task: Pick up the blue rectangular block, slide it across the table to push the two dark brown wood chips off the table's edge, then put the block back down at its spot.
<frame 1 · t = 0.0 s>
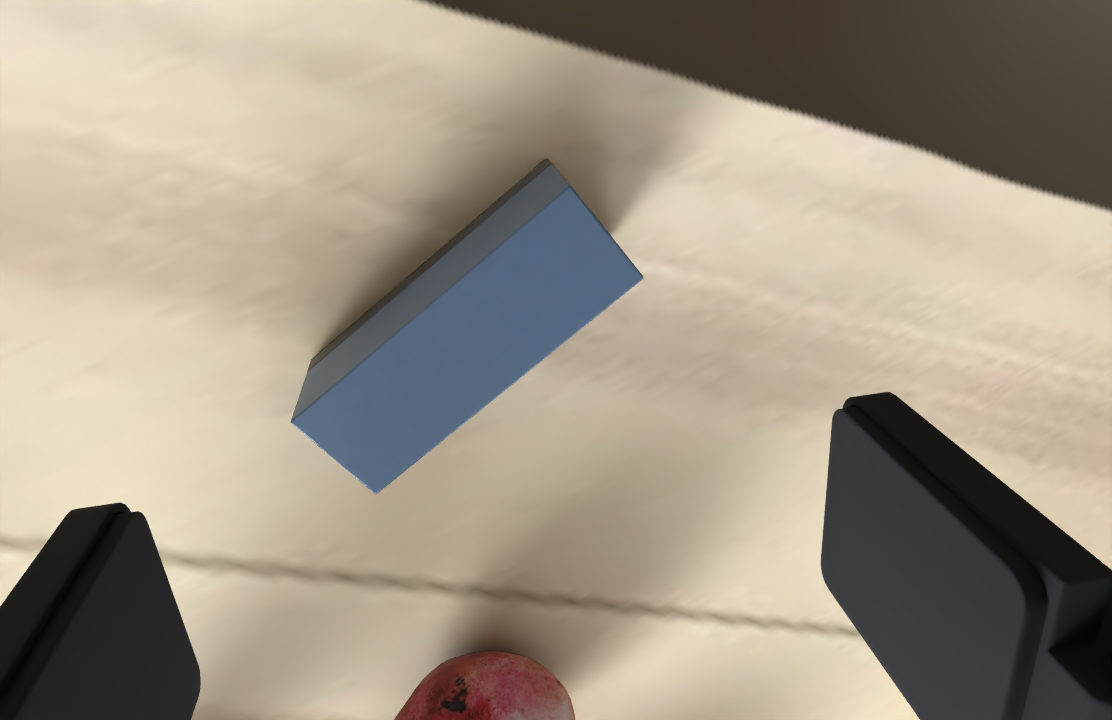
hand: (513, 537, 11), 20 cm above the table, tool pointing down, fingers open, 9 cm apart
blue rectangular block: (460, 298, 30), on the table
fruit: (478, 688, 39), on the table
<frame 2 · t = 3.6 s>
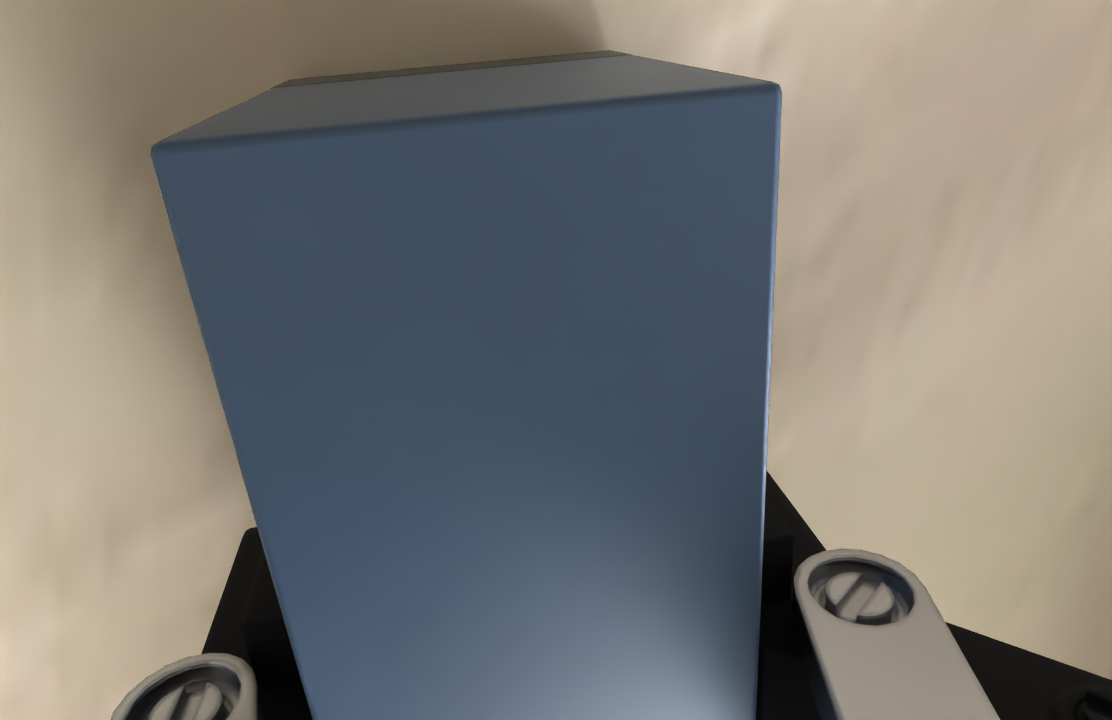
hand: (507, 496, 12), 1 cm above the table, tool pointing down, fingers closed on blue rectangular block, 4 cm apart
blue rectangular block: (504, 478, 12), on the table, touching gripper
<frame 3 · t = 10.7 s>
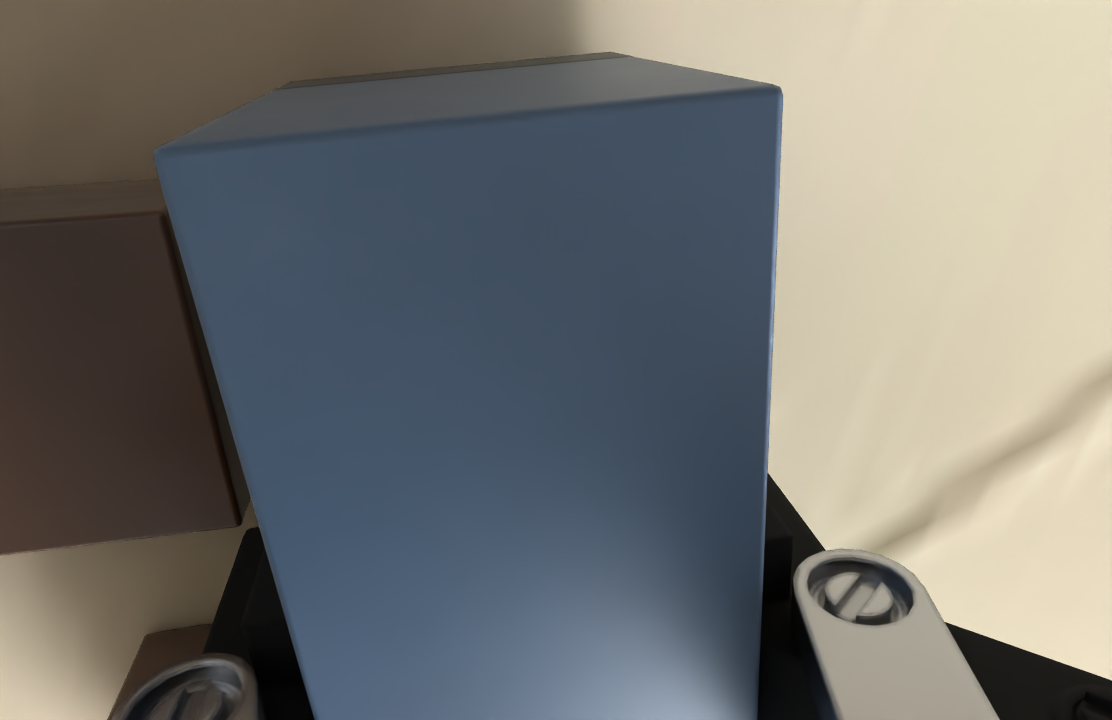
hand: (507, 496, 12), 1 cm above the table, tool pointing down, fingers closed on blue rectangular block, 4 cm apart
chip a: (88, 335, 10), on the table, touching gripper
chip b: (298, 701, 13), on the table
blue rectangular block: (505, 479, 12), on the table, touching gripper
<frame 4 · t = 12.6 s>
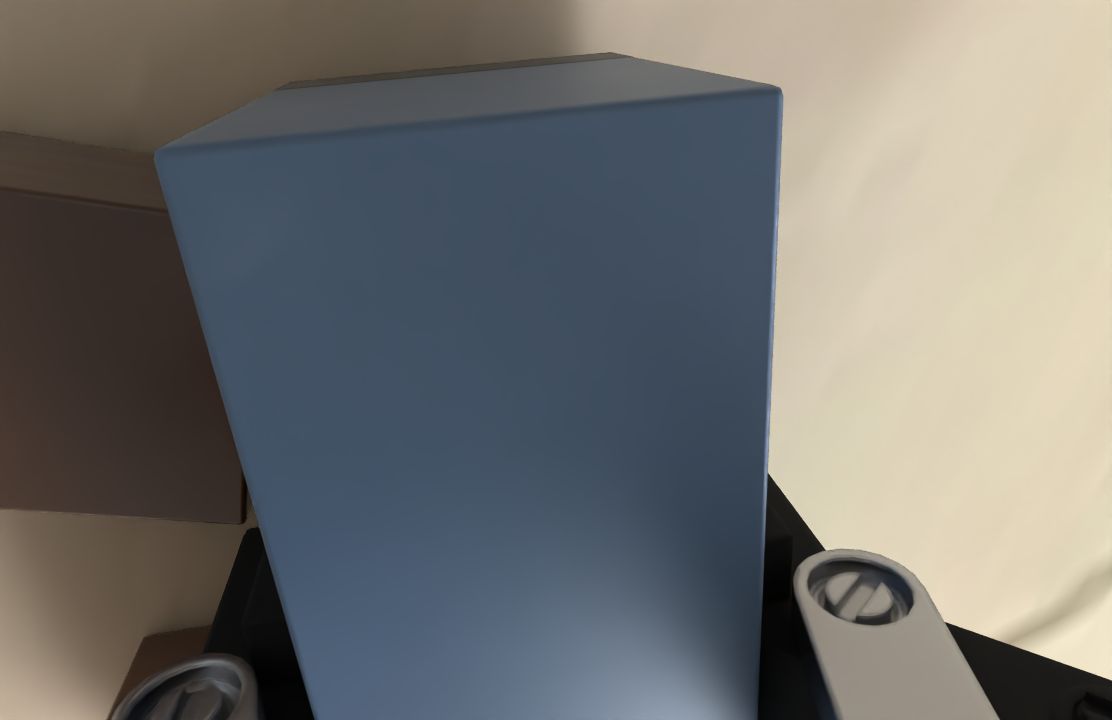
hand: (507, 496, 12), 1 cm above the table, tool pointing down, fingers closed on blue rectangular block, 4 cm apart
chip a: (120, 298, 10), on the table, touching gripper
chip b: (296, 702, 14), on the table
blue rectangular block: (505, 479, 12), on the table, touching gripper
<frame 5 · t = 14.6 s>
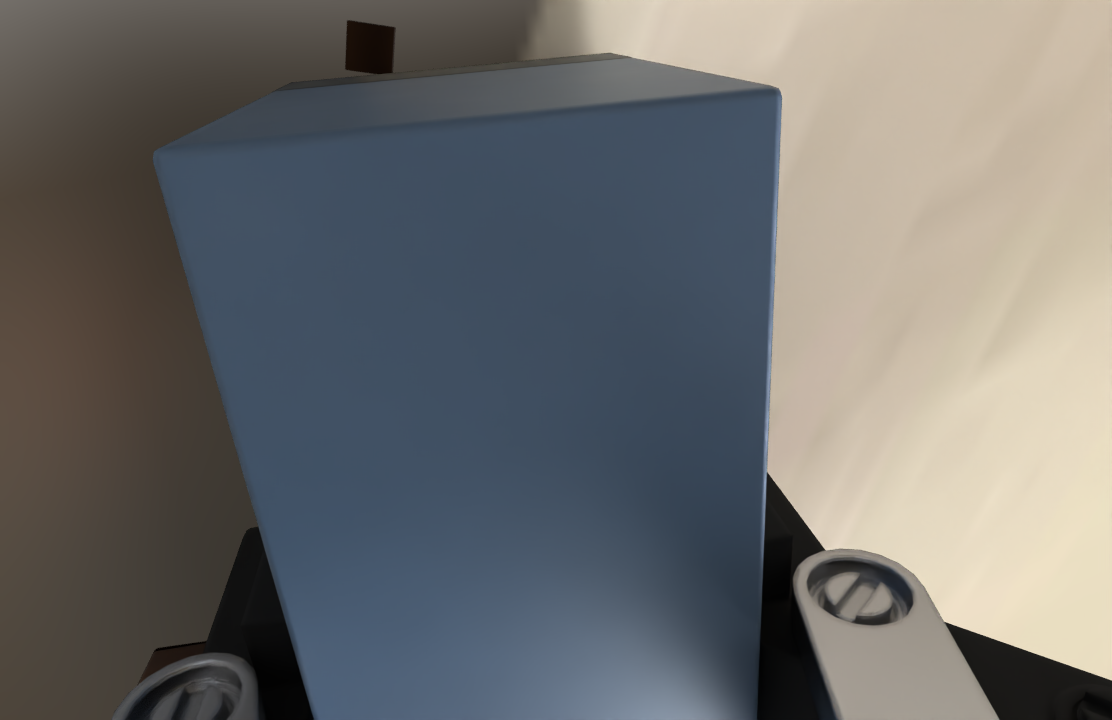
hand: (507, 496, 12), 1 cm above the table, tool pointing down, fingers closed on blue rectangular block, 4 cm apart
chip a: (371, 47, 69), on the floor
chip b: (304, 717, 14), on the table, touching blue rectangular block
blue rectangular block: (505, 479, 12), on the table, touching chip b, gripper
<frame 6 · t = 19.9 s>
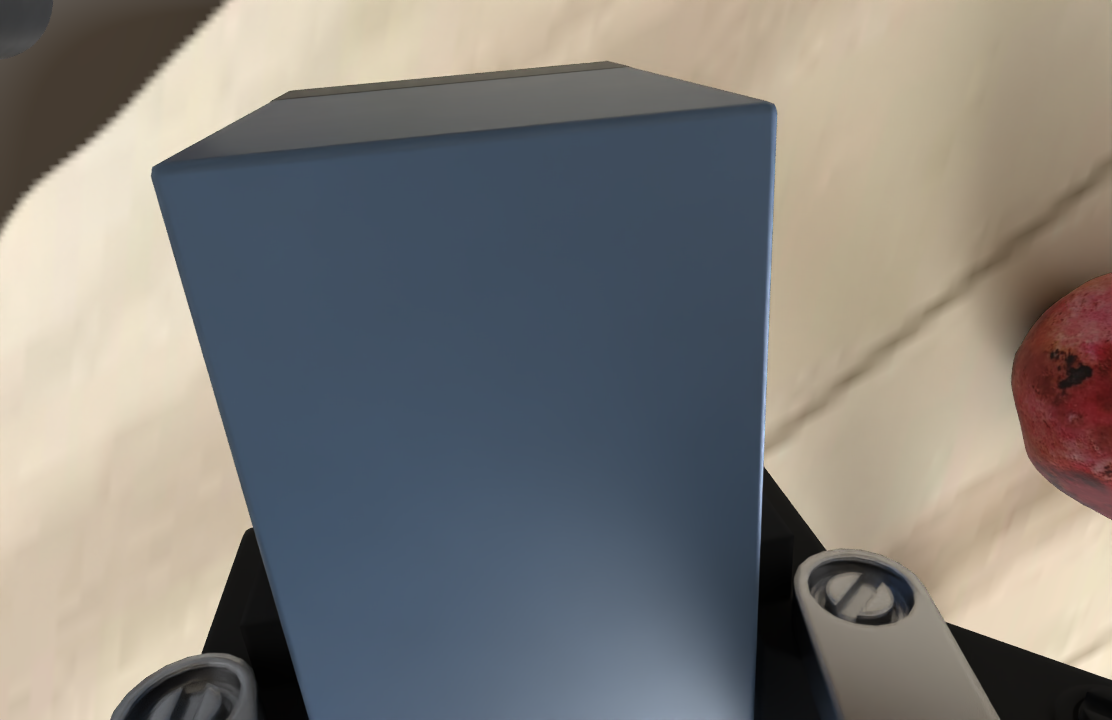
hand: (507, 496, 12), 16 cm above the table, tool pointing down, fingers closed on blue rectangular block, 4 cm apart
blue rectangular block: (503, 485, 12), point 15 cm above the table, touching gripper
fruit: (1068, 352, 32), on the table
when the fingers open (0 cm above the table, at t = 24.4 s): blue rectangular block stays where it is, on the table.
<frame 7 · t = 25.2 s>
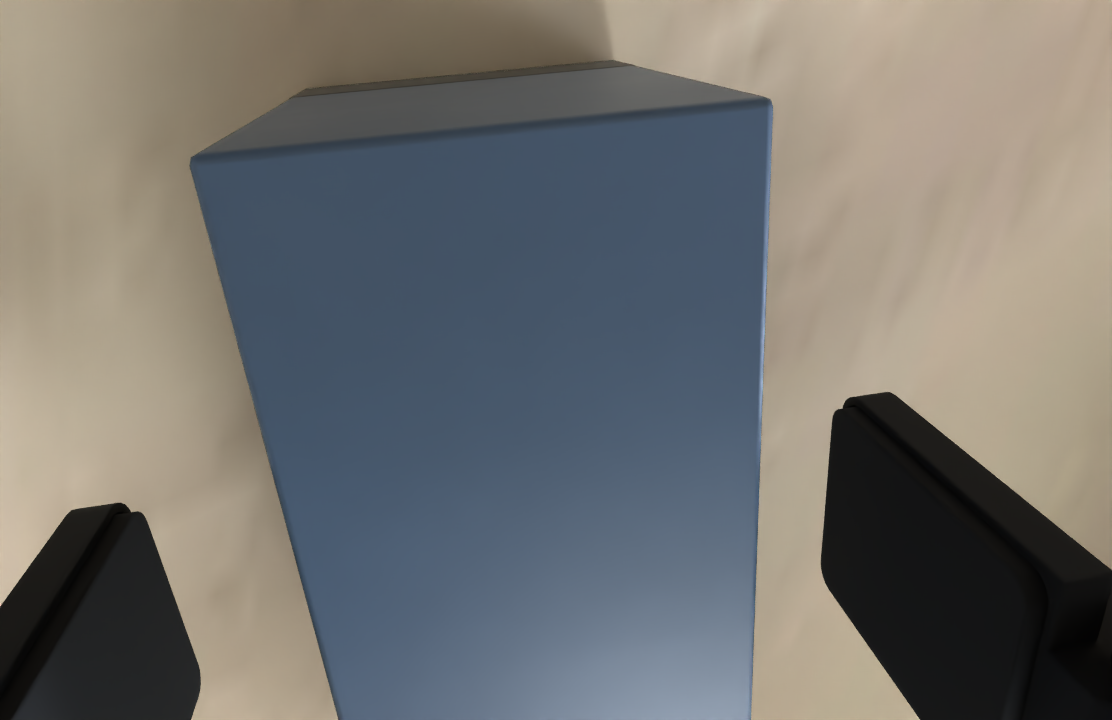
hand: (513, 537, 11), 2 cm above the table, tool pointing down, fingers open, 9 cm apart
blue rectangular block: (510, 472, 12), on the table
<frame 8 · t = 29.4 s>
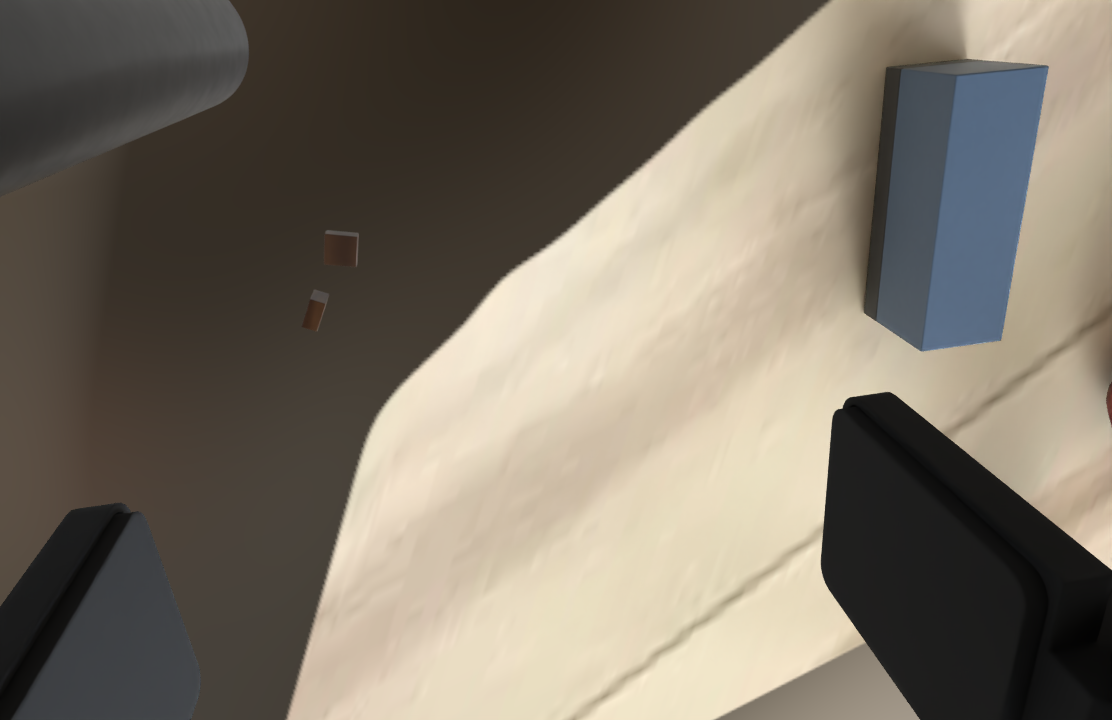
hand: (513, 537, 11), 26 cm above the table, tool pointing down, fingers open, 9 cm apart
chip a: (342, 246, 100), on the floor
chip b: (307, 307, 100), on the floor, tilted 90°
blue rectangular block: (912, 193, 38), on the table
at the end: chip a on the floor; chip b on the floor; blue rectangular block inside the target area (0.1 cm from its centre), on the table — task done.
